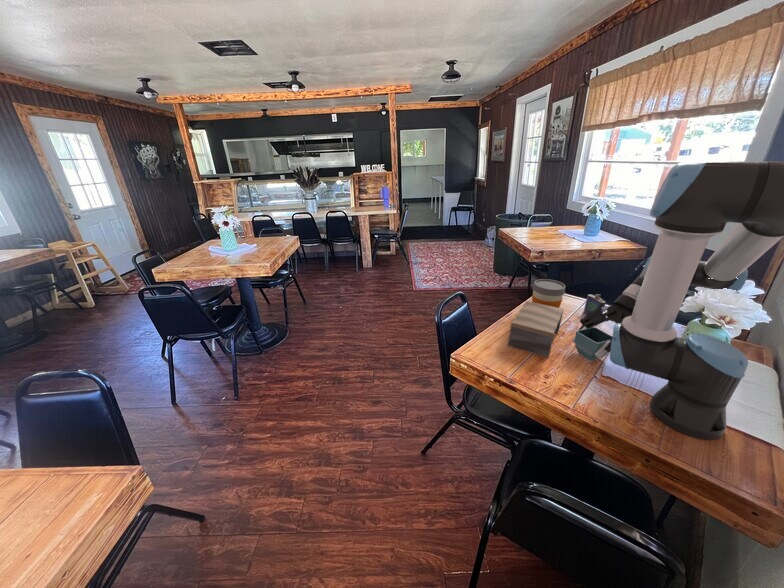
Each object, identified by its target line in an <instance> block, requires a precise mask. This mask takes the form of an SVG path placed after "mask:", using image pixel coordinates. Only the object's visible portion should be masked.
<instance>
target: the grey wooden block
mask: <svg viewBox="0 0 784 588" xmlns="http://www.w3.org/2000/svg"><path fill="white" fill-rule="evenodd" d="M563 315H564V308H561V307H559V308H557V307H552V306H548V305H543V304H539V303H534V302H532V301H529V300H526V301H525V303H524V304H523V306H522V307H521V309H520V310H519V312H518V313H517V314H516V316H515V317H514V319H513V320H512V321H511V325H510V331H509V336H508V343H507V346H508V347H510V348H515V349H517V350H521V351H524V352H527V353H531V354H534V355H538V356H541V357H545V358H547V359H548V358H549V357H550V354H551V350H552V345H553V341H554V336H555V335H558V334H559V331H560V327H561V322H562V320H563V319H562V318H563Z"/></svg>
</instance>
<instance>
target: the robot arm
mask: <svg viewBox="0 0 784 588" xmlns="http://www.w3.org/2000/svg"><path fill="white" fill-rule="evenodd" d="M649 216H650V217H652V218H655V221H654V223H653V225H654V226H655V227H656V229H657V230H658V231H659V233H658V237H657V239H656V242H655V245H654V247H653V251H652V253H651V254H652V255H651V256H650V257H649V258H648V259H647V260H646V261H645V263H644V267H643V269H642V271H641V272H640V274H639V275H638V276H637V277H636V279H635V280H633V282H631V284H629V286H628V287H626V288H625V289H624V291H623V292H622V294H620V295H619V296H617V298H616V299H615V300H614V301H613V302H612V304H611V305H609V306H607V305H606V304H605V305H604V304H600V305H599V306H598V308H597V309H595V310H594V311H592V312H591V313H590V314H588V315H585V316H584V317H583V318H581V319H580V320H579V322H580V323H581V326H580V328H579V329H578V330H582V329H586V328H591V327H596V326H598V325H600V324H602V323H605V322H609V321H610V322H613V323H615V324H614V325H613V329H612V335H611V336H612V340H611V341H612V342H611V341H610V340H608V341H607V342H606V343H605V344H604V345H603V346H602V347H601V348H600V349H599V350H598V351H597V352H596V353H595V355H596V357H597V358H599V359H598V360H600V358H601V357H602V356H603V355H604V354H605V353H606V352H609V359H610V362H612V363H613V364H614V365H617V366H620V367H622V368H624V369H626V370H631V371H636V372H639V373H642V374H646V375H649V376H652V377H654V378H655V377H656V378H660V379H663V380H666V381H667V383H666V384H665V385H663V387H661V388H660V389H659V390H658V391H656V393H654V394H653V396H652V397H651V400H650V403H649V408H650V410H651V412H652V414H653V415H655V417H656V418H657V419H658V420H660V421H661V422H662V423H663V424H665V425H666V426H667V427H670V428H671V429H673V430H675V431H677V432H678V433H681V434H683V435H685V436H688V437H691V438H692V437H693V438H695V439H696V438H697V439H700V440H708V441H709V440H717V439H720V438H721V437H722V436H723V435H724V433H725V431H726V430H727V406H728V404H729V401H730V400H731V398H732V397H733V395H734V392H735V391H736V389H737V388H738V386H739V384H740V382H741V380H742V379H744V377H745V373H746V371H747V369H748V366H749V360H748V357H747V355H745V354H744V353H743V352H742V351H741V350H740V349H739V348H737V347H735V346H734V345H732V344H731V343H728V342H727V341H724V340H722V339H719V338H717V337H714V336H710V335H707V334H704V333H703V334H702V333H690V334H688V335H687V336H686V337H685V338H683V337H678V332H677V330H676V328H675V327H673V326H674V323H675V322H676V318H677V317H678V315H679V312H680V309H681V307H682V305H683V302H684V300H685V298H686V295H687V293H688V290H689V287H690V286H691V287H699V288H703V287H704V289H710V290H715V289H723V288H727V289H732V290H736V291H737V292H739V291H741V290H742V288H743V286H744V285H745V283H746V282H745V281H747V279H748V276H749V275H748V274H749V271H748V268H750V267H751V266H752V265H753V264H754V263H755V262H756V261H757V260H759V258H761V257H762V256H763V255H764V254H765V253H766V252H768V251H769V250H770V249H771V248H772V247H773V246H775V245H776V244H777V243H778V242H779V241H780V240H781V239H783V238H784V161H777V160H773V161H772V160H765V161H759V160H758V161H757V160H756V161H751V160H750V161H748V160H747V161H745V160H744V161H742V160H741V161H740V160H736V161H733V160H732V161H729V160H727V161H726V160H724V161H723V160H716V161H715V160H714V161H713V160H700V161H699V160H698V161H683V162H679V163H677V164H675V165H674V166H672V167H671V168H670V170H669V171H668V173H667V174H666V176H665V178H664V180H663V182H662V184H661V186H660V188H659V190H658V192H657V194H656V196H655V199H654V202H653V204H652V205H651V209H650V211H649ZM727 223H737V225H735V227H734V228H733V229H732V231H730V233H729V234H728V235H727V236H726V238H725V239H724V240H723V241H722V242H721V244H719V246H718V247H717V249H716V250H715V251H714V252H713V253H712V255H711V256H710V257H709V258H708V259H707V261H705V260H704V261H703V260H701V259H702V256H703V254H704V252H705V249H706V248H707V245H708V242H709V240H710V239H711V238H712V237H714V236H717V235H718V234H722V232H723V231H725V227H726V225H727ZM736 277H737V278H738V279H737V278H736ZM708 278H710V279H708ZM711 278H713V279H711ZM738 290H739V291H738ZM602 313H603V314H602ZM600 314H602V315H601V316H599V315H600ZM598 316H599V317H598ZM596 317H597V318H596ZM575 337H576V335H575V336H573V338H572V339H571V341H572V343H574V344H575ZM602 358H603V357H602ZM602 358H601V359H602Z"/></svg>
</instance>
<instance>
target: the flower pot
mask: <svg viewBox="0 0 784 588" xmlns="http://www.w3.org/2000/svg"><path fill="white" fill-rule="evenodd" d="M575 336H576V337H575ZM575 336H574V337H575V343H574V345H575V346H574V347H575V348H576V351H577V353H578V354H579V355H580V356H582V357H583V358H585V359H586V360H588V361H589V362H593V361H597V360H600V359H602V358H604V357H605V356H607V355H608V354H610V352H606V353H605V354H604V355H603V356H602V357H601V358H600V359H599V358H597V357H596V355H595V353H596V352H597V351H598V350H599V349H600V348H601V347H602V346H603V345H604V344H605V343H606V342H607V341H608V340H610V341H611V340H612V336H613V335H611V334H608V333H606V332H605V331H603V330H601V329H599V328H597V327H596V326H594V327H591V328H586V329H582V330H579V329H578V330H575ZM611 342H612V341H611Z"/></svg>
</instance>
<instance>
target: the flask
mask: <svg viewBox="0 0 784 588" xmlns="http://www.w3.org/2000/svg"><path fill="white" fill-rule="evenodd" d="M600 296H601V294H599V293H598V294H595V295H594V294H587V296H586V300H585V301H586V302H585V304H584V308H583V312H582V313H583V314H584V315H585V316H587V315H588V314H590V313H591V312H592V311H594V310H595V309H597V308H598V306H599V305H600V304H604V305H605V306H606V304H607V303H606V301H605V300H604V299H602V298H601V297H600ZM603 313H604V312H603ZM603 313H602V314H603ZM602 314H600V315H599V316H601V315H602ZM599 316H598V317H599ZM596 318H597V317H596Z"/></svg>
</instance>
